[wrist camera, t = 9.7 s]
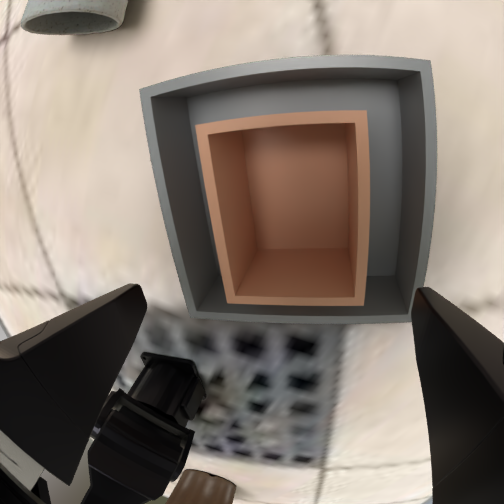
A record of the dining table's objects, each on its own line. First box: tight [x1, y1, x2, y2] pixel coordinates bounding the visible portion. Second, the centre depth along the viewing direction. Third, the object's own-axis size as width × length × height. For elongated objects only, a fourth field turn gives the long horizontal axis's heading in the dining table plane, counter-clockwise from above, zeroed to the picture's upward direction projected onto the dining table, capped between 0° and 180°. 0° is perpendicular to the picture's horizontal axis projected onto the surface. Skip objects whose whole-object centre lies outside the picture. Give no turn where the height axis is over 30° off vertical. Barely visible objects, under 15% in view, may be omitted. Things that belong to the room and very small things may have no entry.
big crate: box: [139, 55, 437, 324], centre depth 16 cm, size 14×14×5 cm
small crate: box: [195, 110, 370, 306], centre depth 15 cm, size 7×9×6 cm
